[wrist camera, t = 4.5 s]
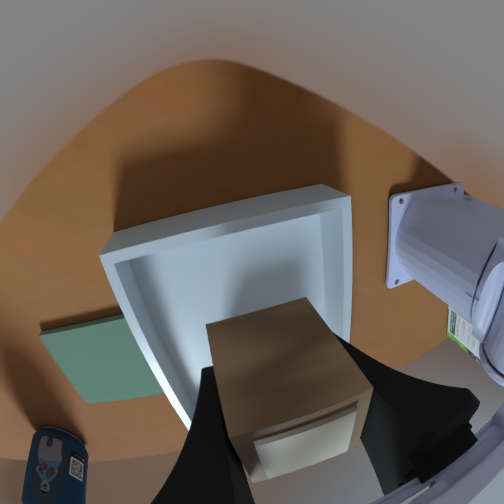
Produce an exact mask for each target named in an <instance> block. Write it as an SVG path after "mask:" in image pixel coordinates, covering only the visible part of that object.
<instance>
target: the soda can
mask: <svg viewBox="0 0 504 504" xmlns="http://www.w3.org/2000/svg"><path fill="white" fill-rule="evenodd" d="M87 468H88V453H87V451H86V449H85V447H84V445H83V443H82V441H81V440H80V439H79V438H77V437H76V436H74V435H73V434H71V433H69V432H67V431H65V430H62V429H60V428H56V427H51V426H46V427H43V428H41V429H40V430H38V431H37V432H36V433H35V434H34V435H33V439H32V443H31V448H30V452H29V457H28V462H27V467H26V473H25V479H24V485H23V493H22V502H23V504H86V503H85V502H86V482H87Z"/></svg>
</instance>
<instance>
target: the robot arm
mask: <svg viewBox="0 0 504 504" xmlns="http://www.w3.org/2000/svg"><path fill="white" fill-rule="evenodd" d="M400 198H401V201H400V202H399V200H400ZM413 279H415V280H416V281H417V282H419V283H420V284H421V285H423V286H424V287H425V288H427V289H428V290H429V291H431V292H432V293H433V294H435V295H436V296H437V297H439V298H440V299H441V300H443V301H444V302H445V303H447V304H448V305H449V306H450V307H452V308H453V309H454V310H455V311H457V312H458V313H459V314H460V315H462V316H463V317H464V318H465V319H467V320H468V321H469V322H470V323H472V324H473V330H472V333H471V335H472V336H473V337H474V338H476V339H477V340H478V341H479V342H480V345H479V356H480V360H481V363H482V365H483V367H484V369H485V370H486V372H487V373H488V374H489V376H490V377H491V378H492V379H493V380H495V381H496V382H497V383H499V384H500V385H502V386H504V210H503V209H501V208H499V207H496V206H494V205H491V204H489V203H486V202H483V201H481V200H478V199H476V198H473V197H470V196H468V195H465V194H464V185H463V184H462V183H460V182H457V183H452V184H446V185H441V186H435V187H430V188H424V189H419V190H414V191H409V192H404V193H398V194H394V195H392V196H391V197H390V199H389V240H388V260H387V274H386V286H387V287H388V288H394V287H396V286H399V285H401V284H404V283H406V282H409V281H411V280H413ZM333 333H334V332H333ZM334 335H335V336H336V337H337V339H338V340H339V341H340V343H341V344H342V346H343V347H344V348H345V350H346V351H347V352H348V354H349V355H350V356H351V358H352V359H353V360H354V362H355V363H356V364H357V366H358V367H359V369H360V370H361V371H362V373H363V374H364V375H365V377H366V378H367V379H368V381H369V382H370V384H371V385H372V386H373V392H372V396H371V400H370V404H369V408H368V411H367V415H366V419H365V422H364V426H363V429H362V433H361V436H360V439H361V441H362V443H363V445H364V447H365V449H366V451H367V454H368V456H369V458H370V461H371V463H372V465H373V467H374V470H375V472H376V475H377V478H378V480H379V483H380V486H381V488H382V491H383V493H384V495H385V496H383V497H382V498H380V499H378V500H376V501H374V502H372V503H370V504H399V503H401V502H403V501H405V500H406V499H408V498H410V497H411V496H413V495H415V494H416V493H418V492H419V491H421V490H423V489H424V488H426V487H427V486H429V485H430V484H431V485H430V487H429V489H428V490H426V491H425V492H423V493H422V494H420V495H419V496H417V497H416V498H414V499H413V500H412V501H411V502H410V503H409V504H468V503H469V502H470V501H471V500H472V499H473V498H474V497H475V496H476V495H477V494H479V493H480V492H481V491H482V490H483V489H484V488H485V487H486V486H487V485H488V484H489V483H490V482H491V481H492V480H493V479H494V478H495V477H496V476H497V474H498V473H499V472H500V471H501V470H502V469H503V468H504V404H503V405H502V406H501V407H500V408H499V409H498V411H497V412H496V413H495V414H494V416H493V417H492V419H491V420H490V421H489V422H488V423H487V424H486V425H485V426H483V428H481V429H480V430H479V431H478V432H477V433H476V434H473V433H472V432H471V430H470V429H471V428H472V425H471V424H470V423H469V420H470V419H471V417H472V416H473V415H474V413H475V412H476V410H477V409H478V407H479V404H480V401H479V400H478V399H477V398H476V397H475V395H474V394H473V393H472V392H471V391H470V390H469V389H467V388H459V387H449V386H445V385H439V384H434V383H431V382H427V381H424V380H421V379H417V378H414V377H411V376H408V375H406V374H403V373H401V372H399V371H396V370H394V369H392V368H390V367H388V366H386V365H384V364H382V363H380V362H378V361H377V360H375V359H373V358H371V357H370V356H368V355H366V354H365V353H363V352H362V351H360V350H358V349H357V348H355V347H354V346H352V345H351V344H349V343H348V342H346V341H345V340H344V339H342V338H341V337H339V336H338V335H337V334H335V333H334ZM151 504H255V502H254V499H253V497H252V494H251V490H250V487H249V484H248V482H247V478H246V475H245V471H244V468H243V465H242V462H241V460H240V458H239V456H238V454H237V452H236V450H235V449H234V447H233V445H232V443H231V441H230V439H229V436H228V432H227V428H226V424H225V419H224V415H223V410H222V406H221V401H220V397H219V392H218V387H217V383H216V378H215V373H214V368H213V366H209V367H205V368H202V370H201V379H200V387H199V393H198V398H197V403H196V408H195V412H194V416H193V419H192V423H191V426H190V429H189V432H188V435H187V438H186V441H185V443H184V446H183V448H182V451H181V453H180V455H179V457H178V460H177V462H176V464H175V466H174V468H173V470H172V471H171V473H170V475H169V477H168V478H167V480H166V482H165V484H164V485H163V487H162V488H161V490H160V491H159V493H158V494H157V495H156V497H155V498H154V500H153V501H152V502H151Z"/></svg>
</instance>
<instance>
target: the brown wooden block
mask: <svg viewBox="0 0 504 504" xmlns="http://www.w3.org/2000/svg"><path fill="white" fill-rule="evenodd" d="M205 325H206V330H207V336H208V342H209V347H210V352H211V357H212V363H213V368H214V373H215V378H216V383H217V387H218V392H219V397H220V401H221V406H222V410H223V415H224V419H225V424H226V428H227V432H228V436H229V439H230V441H231V443H232V445H233V447H234V449H235V450H236V452H237V454H238V456H239V458H240V460H241V462H242V463H243V465H244V467H245V469H246V471H247V472H248V474H249V476H250V478H251V479H252V481H253V483H255V482H259V481H263V480H266V479H270V478H273V477H277V476H281V475H284V474H287V473H290V472H294V471H297V470H300V469H303V468H306V467H309V466H311V465H314V464H317V463H320V462H322V461H325V460H327V459H330V458H332V457H335V456H337V455H340V454H342V453H344V452H347V451H349V450H351V449H353V448H356V447H357V445H358V442H359V439H360V436H361V433H362V429H363V426H364V422H365V419H366V415H367V411H368V408H369V404H370V400H371V396H372V392H373V386H372V385H371V384H370V382H369V381H368V379H367V378H366V377H365V375H364V374H363V373H362V371H361V370H360V369H359V367H358V366H357V364H356V363H355V362H354V360H353V359H352V358H351V356H350V355H349V354H348V352H347V351H346V350H345V348H344V347H343V346H342V344H341V343H340V341H339V340H338V339H337V337H336V336H335V335H334V333H333V332H332V331H331V329H330V328H329V327H328V325H327V324H326V323H325V321H324V320H323V319H322V317H321V316H320V315H319V313H318V312H317V311H316V309H315V308H314V307H313V305H312V304H311V303H310V301H309V300H308V299H307V297H303V298H300V299H297V300H293V301H290V302H286V303H283V304H280V305H276V306H273V307H269V308H265V309H262V310H258V311H255V312H251V313H247V314H243V315H240V316H236V317H232V318H228V319H224V320H220V321H216V322H212V323H208V324H205Z"/></svg>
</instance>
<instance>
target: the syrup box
mask: <svg viewBox="0 0 504 504" xmlns="http://www.w3.org/2000/svg"><path fill="white" fill-rule="evenodd" d="M448 309H449V314H448V330H447V335H448V336H449V337H450V338H451V339H453V340H454V341H455V342H456V343H457V344H458V345H460V346H461V347H462V348H463V349H464V350H465V351H466V352H467V353H468V354H470V355H471V356H472V357H473V358H474V359H475V360H476V361H477V362H478V363H480V364H481V365H482V363H481V360H480V356H479V345H480V342H479V341H478V340H477V339H476V338H474V337H473V336H472V335H471V333H472V330H473V324H472V323H470V322H469V321H468V320H467V319H465V318H464V317H463V316H462V315H460V314H459V313H458V312H457V311H455V310H454V309H453V308H452V307H450V306H449V305H448ZM482 366H483V365H482Z"/></svg>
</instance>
